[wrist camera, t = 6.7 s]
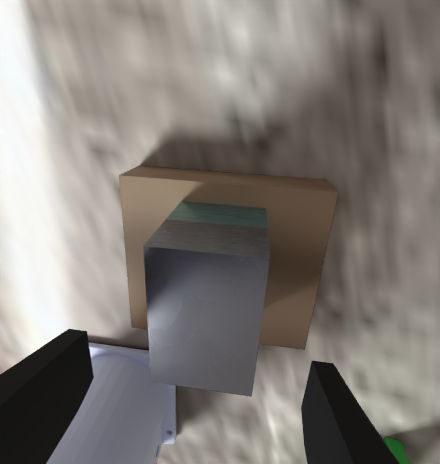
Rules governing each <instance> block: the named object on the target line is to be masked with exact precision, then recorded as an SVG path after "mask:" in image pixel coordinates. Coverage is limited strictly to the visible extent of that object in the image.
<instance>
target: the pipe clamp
mask: <svg viewBox="0 0 440 464" xmlns="http://www.w3.org/2000/svg"><path fill="white" fill-rule="evenodd" d="M384 442H385V443H386V445H387V446H388V447H389V449H390V450H391V452H392V453H393V454H394V456H395V457H396V459H397V460H398V461H399V463H400V464H410V463H409V461H408V458H407V456H406V453H405V451H404V449H403V446H402V444H401V442H400V441H398V440H395V439H392V438H389V437H385V438H384Z"/></svg>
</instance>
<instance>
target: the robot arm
mask: <svg viewBox="0 0 440 464" xmlns="http://www.w3.org/2000/svg"><path fill="white" fill-rule="evenodd" d="M301 409H302V423H303V435H304V446H305V452H306V457H307V463H308V464H400V463H399V461H398V460H397V459H396V457H395V456H394V454H393V453H392V452H391V450H390V449H389V447H388V446H387V445H386V443H385V442H384V440H383V439H382V437H381V436H380V435H379V433H378V432H377V430H376V429H375V427H374V426H373V424H372V423H371V422H370V420H369V419H368V417H367V416H366V414H365V413H364V411H363V410H362V408H361V407H360V405H359V403H358V402H357V400H356V399H355V397H354V396H353V394H352V393H351V391H350V389H349V388H348V386H347V385H346V383H345V381H344V380H343V378H342V377H341V375H340V373H339V372H338V370H337V368H336V367H335V366H334V364H333V363H326V362H318V361H312V363H311V367H310V372H309V376H308V381H307V385H306V389H305V394H304V398H303V402H302V407H301ZM175 440H176V385H169V384H162V383H155V382H151V375H150V357H149V351H148V350H140V349H133V348H126V347H118V346H111V345H103V344H96V343H89V342H88V336H87V331H80V330H73V329H68V330H67V331H65V332H64V333H62V334H61V335H59V336H57V337H56V338H54V339H53V340H51V341H50V342H48V343H47V344H46V345H44V346H43V347H41V348H40V349H38V350H37V351H35V352H34V353H32V354H31V355H29V356H28V357H26V358H25V359H23V360H22V361H20V362H19V363H17V364H16V365H14V366H13V367H11V368H10V369H8V370H7V371H5V372H4V373H2V374H1V375H0V464H157V460H158V457H159V453H160V450H161V446H162V443H166V444H173V443H175Z"/></svg>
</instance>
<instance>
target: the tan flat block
mask: <svg viewBox="0 0 440 464" xmlns="http://www.w3.org/2000/svg"><path fill="white" fill-rule="evenodd" d="M119 180H120V192H121V204H122V216H123V228H124V240H125V253H126V265H127V277H128V289H129V301H130V313H131V325H132V328H140V329H148V321H147V304H146V286H145V268H144V250H143V246H144V244H145V243H146V242H147V241H148V240H149V239H150V237H151V236H152V235H153V234H154V233H155V231H156V230H157V229H158V228H159V227H160V225H161V224H162V223H163V222H164V221H165V220H166V218H167V217H168V216H169V215H170V214H171V212H172V211H173V210H174V209H175V208H176V207H177V205H178V204H179V203H180V202H181V201H188V202H200V203H211V204H223V205H235V206H246V207H258V208H266V211H267V225H268V239H269V253H270V262H269V269H268V277H267V285H266V292H265V300H264V307H263V315H262V322H261V330H260V338H259V344H264V345H272V346H280V347H288V348H295V349H303V350H305V346H306V341H307V337H308V332H309V327H310V323H311V318H312V313H313V309H314V304H315V299H316V295H317V290H318V285H319V281H320V276H321V271H322V266H323V262H324V257H325V252H326V248H327V243H328V238H329V234H330V229H331V224H332V220H333V215H334V210H335V206H336V201H337V196H338V192H337V191H336V190H335V189H334V188H333V187H332V186H331V185H330V183H329V182H328V181H327V180H318V179H305V178H292V177H279V176H265V175H252V174H239V173H226V172H213V171H200V170H187V169H173V168H160V167H147V166H138V167H136V168H133V169H131V170H129V171H127V172H125V173H123V174H121V175H119Z"/></svg>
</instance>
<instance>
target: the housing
mask: <svg viewBox="0 0 440 464" xmlns="http://www.w3.org/2000/svg"><path fill="white" fill-rule="evenodd" d="M143 250H144V268H145V286H146V304H147V321H148V339H149V357H150V375H151V382H155V383H162V384H169V385H176V386H182V387H189V388H196V389H203V390H210V391H217V392H224V393H231V394H237V395H244V396H251V397H252V390H253V383H254V375H255V368H256V360H257V353H258V345H259V338H260V330H261V322H262V315H263V307H264V300H265V292H266V285H267V277H268V269H269V262H270V253H269V239H268V225H267V211H266V208H258V207H246V206H235V205H223V204H211V203H200V202H188V201H181V202H180V203H179V204H178V205H177V207H176V208H175V209H174V210H173V211H172V212H171V214H170V215H169V216H168V217H167V218H166V220H165V221H164V222H163V223H162V224H161V225H160V227H159V228H158V229H157V230H156V231H155V233H154V234H153V235H152V236H151V237H150V239H149V240H148V241H147V242H146V243H145V244H144V246H143Z"/></svg>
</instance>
